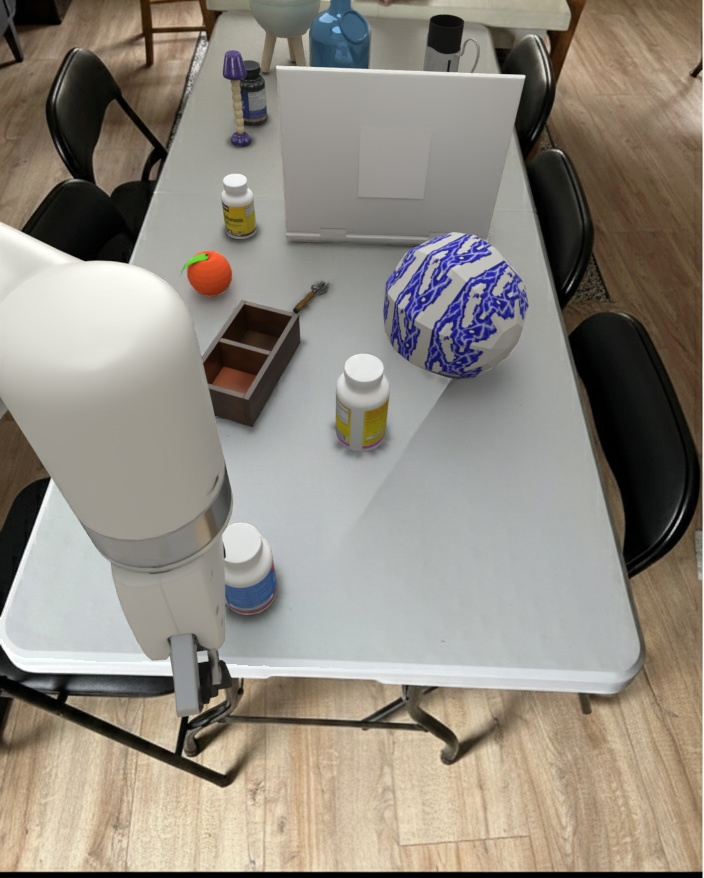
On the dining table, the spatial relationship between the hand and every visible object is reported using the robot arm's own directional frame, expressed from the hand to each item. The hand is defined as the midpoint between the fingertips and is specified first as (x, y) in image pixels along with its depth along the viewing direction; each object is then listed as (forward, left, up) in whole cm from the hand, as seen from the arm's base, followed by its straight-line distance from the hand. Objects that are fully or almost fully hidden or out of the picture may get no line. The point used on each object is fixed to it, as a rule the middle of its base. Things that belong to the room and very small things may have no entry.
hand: (207, 618), depth 45 cm
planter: (+20, +145, -22) cm, 147 cm away
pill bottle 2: (+2, +12, -22) cm, 24 cm away
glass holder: (+55, +127, -22) cm, 140 cm away
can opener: (+15, +60, -21) cm, 65 cm away
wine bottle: (+30, +127, -22) cm, 132 cm away
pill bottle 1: (+10, +121, -22) cm, 123 cm away
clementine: (-1, +64, -22) cm, 67 cm away
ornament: (+33, +45, -22) cm, 59 cm away
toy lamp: (+7, +112, -22) cm, 114 cm away
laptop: (+32, +85, -22) cm, 93 cm away
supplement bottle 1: (+5, +80, -22) cm, 82 cm away
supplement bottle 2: (+18, +32, -22) cm, 42 cm away
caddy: (+4, +45, -21) cm, 49 cm away
